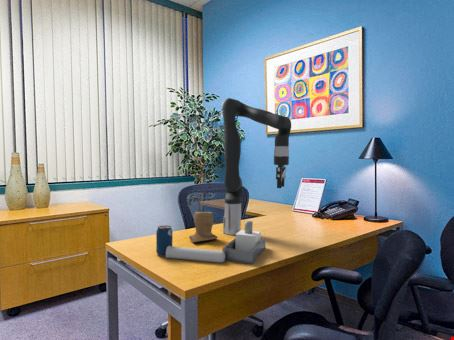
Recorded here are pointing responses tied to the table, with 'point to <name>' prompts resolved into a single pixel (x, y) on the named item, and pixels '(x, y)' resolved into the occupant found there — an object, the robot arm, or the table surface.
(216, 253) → the tube
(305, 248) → the table surface
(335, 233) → the table surface
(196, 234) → the stone cup
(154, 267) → the table surface
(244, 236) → the white knobbed block
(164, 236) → the soda can
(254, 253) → the bay
